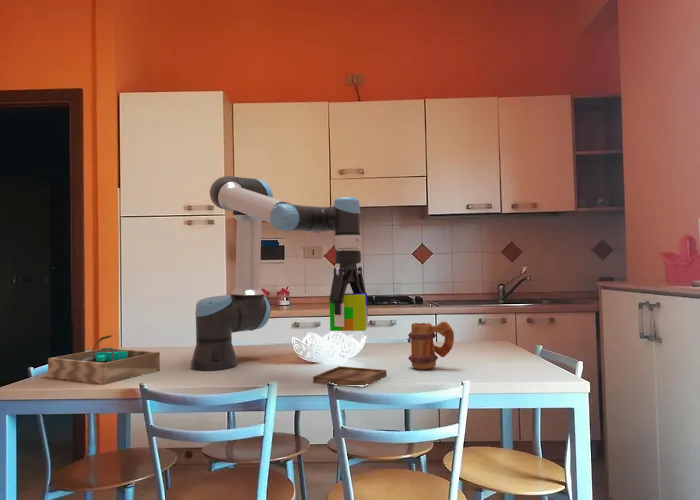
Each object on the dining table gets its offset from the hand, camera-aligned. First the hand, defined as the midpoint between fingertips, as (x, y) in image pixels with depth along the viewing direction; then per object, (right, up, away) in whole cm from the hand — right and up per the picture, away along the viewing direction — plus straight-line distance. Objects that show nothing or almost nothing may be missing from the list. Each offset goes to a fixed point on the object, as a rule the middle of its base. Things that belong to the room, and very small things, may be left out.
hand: (349, 324), depth 158 cm
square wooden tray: (0, -16, 0) cm, 16 cm away
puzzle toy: (0, -2, 0) cm, 2 cm away
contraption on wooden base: (-78, -18, +14) cm, 82 cm away
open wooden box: (-78, -18, +15) cm, 82 cm away
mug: (+26, -16, +13) cm, 33 cm away
